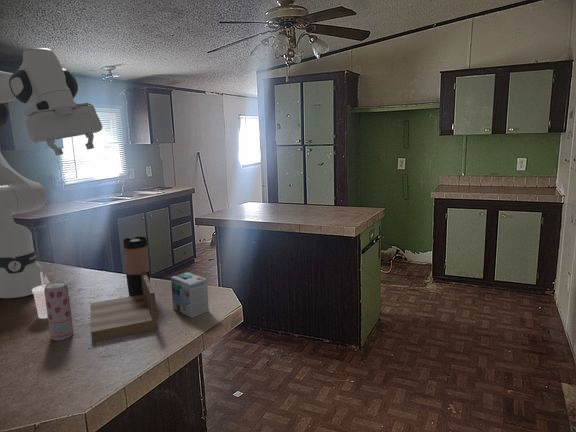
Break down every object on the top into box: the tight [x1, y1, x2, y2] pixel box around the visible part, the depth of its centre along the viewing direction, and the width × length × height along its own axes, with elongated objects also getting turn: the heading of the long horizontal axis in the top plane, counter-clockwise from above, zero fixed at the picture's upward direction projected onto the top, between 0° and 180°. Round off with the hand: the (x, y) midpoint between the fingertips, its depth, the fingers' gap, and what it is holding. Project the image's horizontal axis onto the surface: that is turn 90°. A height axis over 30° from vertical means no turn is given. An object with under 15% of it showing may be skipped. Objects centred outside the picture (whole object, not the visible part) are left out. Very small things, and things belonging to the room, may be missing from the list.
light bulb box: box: [170, 271, 209, 318], centre depth 131 cm, size 11×7×11 cm, turn 47°
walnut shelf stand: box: [89, 271, 159, 343], centre depth 125 cm, size 22×17×11 cm
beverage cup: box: [32, 271, 48, 319], centre depth 129 cm, size 6×6×14 cm
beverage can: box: [44, 281, 74, 341], centre depth 115 cm, size 6×6×15 cm
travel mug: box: [122, 236, 151, 297], centre depth 144 cm, size 8×8×20 cm
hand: (75, 151), depth 123 cm, fingers open, 8 cm apart
